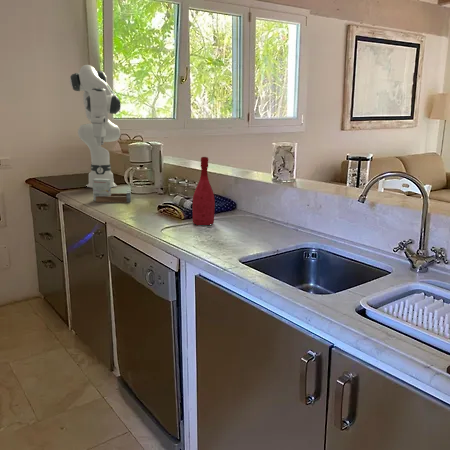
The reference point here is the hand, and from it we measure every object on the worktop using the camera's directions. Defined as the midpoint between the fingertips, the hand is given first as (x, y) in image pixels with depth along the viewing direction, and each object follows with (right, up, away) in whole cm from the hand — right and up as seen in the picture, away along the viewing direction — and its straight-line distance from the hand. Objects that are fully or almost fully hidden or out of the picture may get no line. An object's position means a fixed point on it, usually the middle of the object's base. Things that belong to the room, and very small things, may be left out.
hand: (100, 145), depth 252 cm
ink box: (+1, -30, -1) cm, 30 cm away
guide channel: (+7, -30, 0) cm, 31 cm away
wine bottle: (+58, -43, -45) cm, 85 cm away
